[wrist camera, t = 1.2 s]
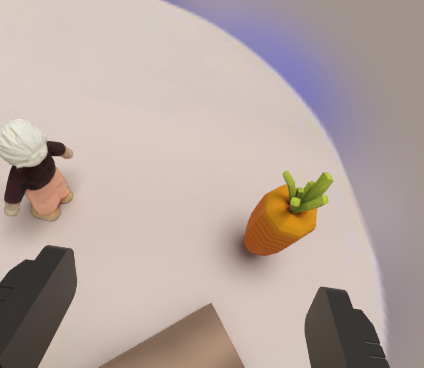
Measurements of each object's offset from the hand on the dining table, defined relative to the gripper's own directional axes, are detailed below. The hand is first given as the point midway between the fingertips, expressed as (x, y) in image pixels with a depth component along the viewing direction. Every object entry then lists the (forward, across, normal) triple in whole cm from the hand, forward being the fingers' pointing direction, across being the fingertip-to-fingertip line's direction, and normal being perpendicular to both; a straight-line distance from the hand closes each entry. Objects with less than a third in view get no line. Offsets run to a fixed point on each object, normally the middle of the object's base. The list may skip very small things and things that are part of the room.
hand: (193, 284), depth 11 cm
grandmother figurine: (+19, +16, +14) cm, 28 cm away
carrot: (+20, -6, +16) cm, 26 cm away
